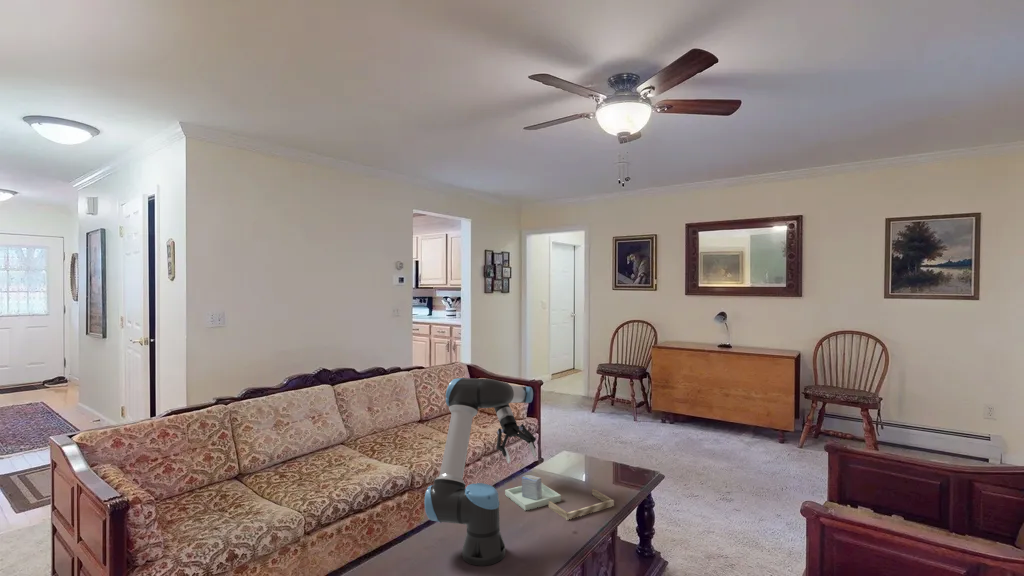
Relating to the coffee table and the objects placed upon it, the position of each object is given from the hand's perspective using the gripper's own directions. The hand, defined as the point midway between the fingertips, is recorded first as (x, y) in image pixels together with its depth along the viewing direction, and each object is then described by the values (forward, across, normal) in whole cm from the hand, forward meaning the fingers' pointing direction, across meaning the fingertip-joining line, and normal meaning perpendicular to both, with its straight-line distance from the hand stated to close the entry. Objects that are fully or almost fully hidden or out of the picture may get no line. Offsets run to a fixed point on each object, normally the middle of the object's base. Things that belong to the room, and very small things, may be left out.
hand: (522, 459), depth 227 cm
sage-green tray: (+16, 0, -4) cm, 17 cm away
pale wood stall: (+30, -13, +9) cm, 34 cm away
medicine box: (+16, +1, -4) cm, 17 cm away
